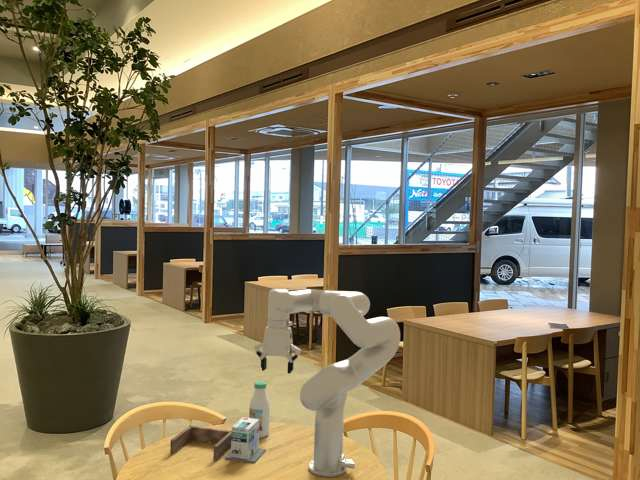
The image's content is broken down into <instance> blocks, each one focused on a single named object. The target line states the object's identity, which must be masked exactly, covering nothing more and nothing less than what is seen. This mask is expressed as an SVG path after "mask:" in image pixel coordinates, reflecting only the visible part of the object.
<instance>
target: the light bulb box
mask: <svg viewBox="0 0 640 480" xmlns="http://www.w3.org/2000/svg"><path fill="white" fill-rule="evenodd" d="M259 424H260V420H259V419H253V418H249V417H245V416H243V417H241V418H240V419H239V420H238V421H237V422H235V423H234V424H233V425H232V426H231V431H232V436H231V448H230V451H231V457H234V458H240V459H247V460H248V459H249V458H250V457H251V456H252V455H253V454H254V453H255V452H256V451H257V450H258V449H259V448H260V438H259Z"/></svg>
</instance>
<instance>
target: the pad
mask: <svg viewBox="0 0 640 480" xmlns="http://www.w3.org/2000/svg"><path fill="white" fill-rule="evenodd" d="M265 452H266V448H263V447H262V448H261V447H259V449H258V450H257V451H256V452H255V453H254V454H253V455H252V456H251V457H250V458H249V459H248V460H247V459H240V458H234V457H231V450H230V451H229V452H228V453H227V454H226V455H224V459H225V460H231V461H237V462H242V463H243V462H245V463H250V464H251V463H252V464H256V463H257V462H258V460H259V459H260V458H261V457H262V456H263V454H264V453H265Z"/></svg>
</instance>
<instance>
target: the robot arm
mask: <svg viewBox="0 0 640 480" xmlns="http://www.w3.org/2000/svg"><path fill="white" fill-rule="evenodd" d="M267 303H268V306H267V326H266V327H265V328H264V329H265V330H264V334H263V342H261V343H259V344H256V345H254V346H253V349H254V351H255V353H256V355H257V356H258V357H259V360H260V368H261V371H262V372H263V371H265V370H267V366H268V365H267V363H268V362H267V360H268V359H267V356H273V357H285V358H286V359H287V360H288V362H287V374H291V373H293V371H294V362H295V360H297V358H298V357H299V356H300V354H301V353H302V349H300V348H299V347H297V346H296V345H295V344H293V343H294V342H293V331H292V327H290V326H293V324H294V323H293V321H291V320H290V314H299V313H301V312H310V311H314V312H315V311H316V312H320V313H321V314H322V315H323V316H325V317H331V318H332V319H333V320H334V321H335V323H336V324H337V325H338V326H339V327H340V329H341V330H342V332H344V333H345V335H346V336H347V337H348V338H349V339H350V341H351V342H352V343H353V344H354V345H356V346H357V347H359V348H360V349H358V351H357V352H355V353H354V354H353V355H351V356H350V357H348V358H346V359H343V360H340V361H337V362H334V363H331V364H328V365H326V366H324V367H323V368H322V369H321V370H319V371H318V372H317V373H316V374H314V375H312V376H311V378H309V379H308V380H306V381H305V382H304V384H303V385H302V386H301V388H300V391H299V401H300V403H301V404H302V406H303V407H304V408H305V409H307V410H309V411H314V412H315V416H314V439H313V440H314V441H313V460H311V461H310V462H309V464H308V470H309V472H311V473H312V474H314V475H316V476H319V477H326V478H335V477H339V476H341V475H344V474H345V473H346V471H347V469H352V470H353V469H355V467H356V465H355V464H356V463H355V462H354V461H353V460H352V459H347V458H346V457H345V453H343V446H344V445H343V441H344V421H345V420H344V419H345V407H346V402H347V397H348V392H349V391H351V390H354V389H356V388H358V387H359V386H360V385H362V384H363V383H364V382H365V381H367V380H368V379H369V378H370V377H372V376H373V375H374V374H375V373H377V372H378V371H379V370H380V369H382V368H383V367H385V366H386V365H387V363H389V362H390V361H391V360H392V359H393V357H394V356H395V354H397V351H398V349H399V347H400V342H401V329H400V327H399V325H398V322H396V321H395V320H394V319H393V318H391V317H387V316H377V317H372V318H368V319H366V318H365V317H364V316H365V315H366V314H367V313H369V310H370V307H371V301H370V299H369V297H368V296H367V295H366V294H364V293H363V292H360V291H355V290H354V291H350V290H327V289H325V290H324V289H301V290H292V291H289V290H288V289H285V288H271V289H270V290H269V292H268V302H267ZM260 348H262V351H261V350H260ZM293 351H294V352H295V354H294V355H293Z"/></svg>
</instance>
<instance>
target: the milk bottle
mask: <svg viewBox="0 0 640 480" xmlns="http://www.w3.org/2000/svg"><path fill="white" fill-rule="evenodd" d="M253 387H254V388H253V389H254V392H253V394H252V397H251V399H250V401H249V413H248V414H249V415H248V418H253V419H259V420H260V424H259V439H261V438H265V437H268V436H269V434H270V418H271V417H270V416H271V415H270V413H271V407H270V405H271V404H270V399H269V397H268V395H267V392H266V391H267V383H266V381H262V380H261V381H260V380H259V381H255V382H254V385H253Z"/></svg>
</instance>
